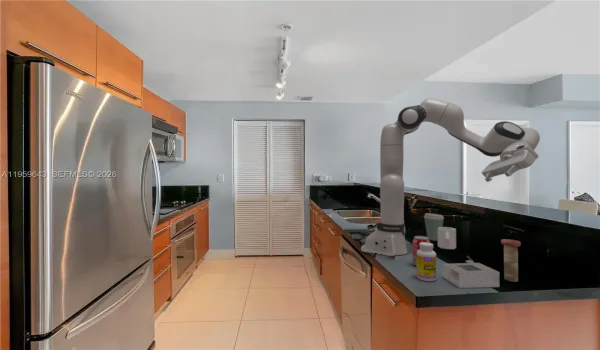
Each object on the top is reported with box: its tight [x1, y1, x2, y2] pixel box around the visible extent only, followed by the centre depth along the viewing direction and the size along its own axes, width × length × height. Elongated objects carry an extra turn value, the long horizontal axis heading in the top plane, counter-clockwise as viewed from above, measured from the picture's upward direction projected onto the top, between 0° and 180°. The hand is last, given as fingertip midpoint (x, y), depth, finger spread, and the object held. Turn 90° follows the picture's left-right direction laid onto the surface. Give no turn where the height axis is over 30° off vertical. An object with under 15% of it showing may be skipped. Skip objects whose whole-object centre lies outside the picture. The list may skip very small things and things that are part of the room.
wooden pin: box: [500, 238, 522, 283], centre depth 100 cm, size 6×6×14 cm
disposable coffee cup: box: [423, 213, 445, 242], centre depth 163 cm, size 11×11×15 cm
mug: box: [437, 226, 457, 250], centre depth 144 cm, size 12×9×10 cm
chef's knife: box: [465, 255, 475, 263], centre depth 120 cm, size 19×1×3 cm
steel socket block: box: [442, 262, 501, 289], centre depth 98 cm, size 14×10×5 cm
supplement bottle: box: [416, 242, 437, 282], centre depth 102 cm, size 7×7×13 cm
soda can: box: [412, 235, 431, 267], centre depth 116 cm, size 7×7×12 cm
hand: (496, 177), depth 112 cm, fingers open, 8 cm apart
